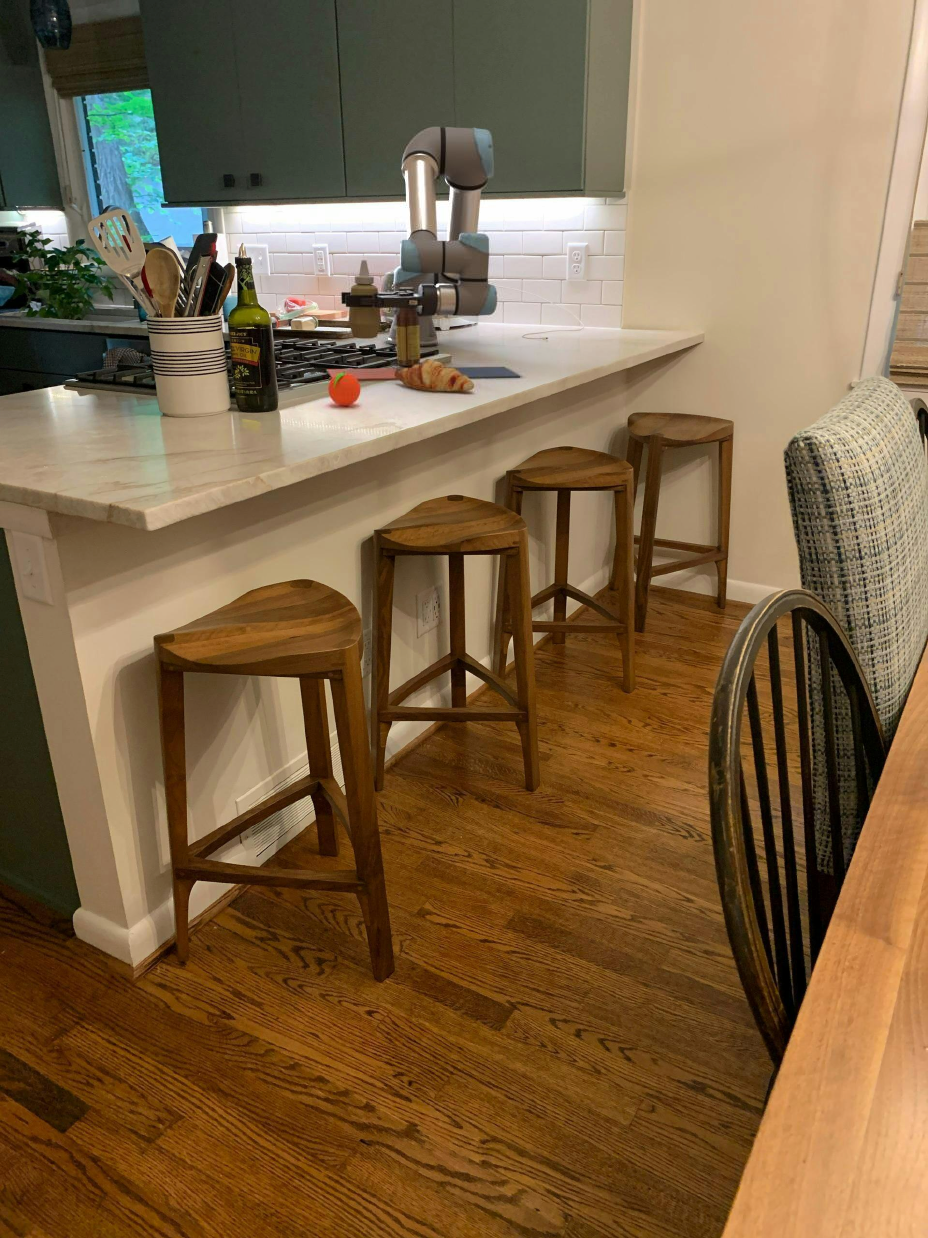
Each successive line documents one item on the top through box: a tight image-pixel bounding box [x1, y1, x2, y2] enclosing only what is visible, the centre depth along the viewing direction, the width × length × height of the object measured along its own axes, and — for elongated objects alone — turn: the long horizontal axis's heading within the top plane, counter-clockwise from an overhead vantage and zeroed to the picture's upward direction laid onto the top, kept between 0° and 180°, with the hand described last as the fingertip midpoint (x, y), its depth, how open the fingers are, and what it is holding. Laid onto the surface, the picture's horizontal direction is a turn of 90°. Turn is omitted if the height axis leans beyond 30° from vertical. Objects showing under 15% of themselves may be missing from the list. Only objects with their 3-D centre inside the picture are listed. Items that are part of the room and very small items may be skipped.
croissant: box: [395, 358, 475, 392], centre depth 221 cm, size 21×10×8 cm, turn 66°
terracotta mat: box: [325, 367, 399, 381], centre depth 236 cm, size 14×18×1 cm
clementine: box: [327, 372, 362, 407], centre depth 200 cm, size 8×7×7 cm
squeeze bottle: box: [348, 259, 382, 340], centre depth 229 cm, size 8×8×18 cm
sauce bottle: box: [396, 287, 421, 367], centre depth 248 cm, size 7×6×20 cm
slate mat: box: [455, 366, 521, 379], centre depth 244 cm, size 14×18×1 cm
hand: (343, 299), depth 228 cm, fingers closed on squeeze bottle, 6 cm apart
